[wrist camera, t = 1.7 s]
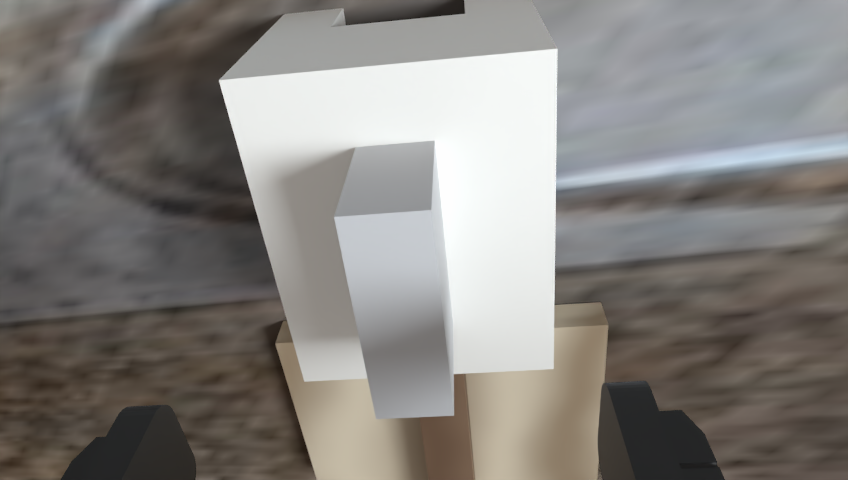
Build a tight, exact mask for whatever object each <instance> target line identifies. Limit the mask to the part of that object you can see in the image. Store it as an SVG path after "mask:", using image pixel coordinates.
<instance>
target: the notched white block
mask: <svg viewBox="0 0 848 480" xmlns="http://www.w3.org/2000/svg"><path fill="white" fill-rule="evenodd" d="M464 8H465V14H457V15H447V16H437V17H427V18H417V19H407V20H396V21H386V22H376V23H366V24H356V25H346V23H345V17H344V11H343V8H339V9H329V10H319V11H309V12H300V13H290V14H284V15H283V16H282V17H281V18H280V19H279V20H278V21H277V22H276V23H275V24H274V25H273V26H272V27H271V28H270V29H269V30H268V31H267V32H266V33H265V34H264V35H263V36H262V37H261V38H260V39H259V40H258V41H257V42H256V43H255V44H254V45H253V46H252V47H251V48H250V49H249V50H248V51H247V52H246V53H245V54H244V55H243V56H242V57H241V58H240V59H239V60H238V61H237V62H236V63H235V64H234V65H233V66H232V67H231V68H230V69H229V70H228V71H227V72H226V73H225V74H224V75H223V76H222V77H221V78H220V79H219V83H220V86H221V90H222V94H223V97H224V101H225V104H226V108H227V111H228V115H229V118H230V122H231V125H232V129H233V132H234V136H235V139H236V143H237V146H238V150H239V153H240V157H241V160H242V164H243V167H244V171H245V174H246V178H247V181H248V185H249V189H250V192H251V196H252V199H253V203H254V206H255V210H256V213H257V217H258V220H259V224H260V227H261V231H262V234H263V238H264V241H265V245H266V248H267V252H268V255H269V259H270V262H271V266H272V269H273V273H274V277H275V280H276V284H277V287H278V291H279V294H280V298H281V301H282V305H283V308H284V312H285V315H286V319H287V322H288V326H289V329H290V333H291V336H292V340H293V343H294V347H295V350H296V354H297V357H298V361H299V364H300V368H301V372H302V375H303V379H304V382H308V381H328V380H347V379H367V378H368V383H369V388H370V392H371V397H372V402H373V407H374V412H375V416H376V419H392V418H414V417H436V416H454V374H467V373H487V372H506V371H526V370H546V369H554V299H555V212H556V125H557V47H556V45H555V43H554V41H553V40H552V38H551V36H550V34H549V32H548V30H547V28H546V27H545V25H544V23H543V21H542V19H541V17H540V15H539V14H538V12H537V10H536V8H535V6H534V4H533V2H532V1H531V0H464Z"/></svg>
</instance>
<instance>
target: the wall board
mask: <svg viewBox="0 0 848 480" xmlns="http://www.w3.org/2000/svg"><path fill="white" fill-rule="evenodd" d="M607 337H608V322H607V319H606V316H605V313H604V310H603V307H602V304H601V302H595V303H578V304H561V305H554V369H546V370H526V371H506V372H487V373H467V374H454V416H436V417H414V418H392V419H376V416H375V412H374V407H373V402H372V397H371V392H370V388H369V383H368V378H367V379H347V380H328V381H308V382H304V379H303V375H302V372H301V368H300V364H299V361H298V357H297V354H296V350H295V347H294V343H293V340H292V336H291V333H290V329H289V326H288V322H287V321H283V323H282V325H281V328H280V331H279V334H278V337H277V340H276V343H275V344H276V348H277V351H278V354H279V358H280V361H281V364H282V367H283V371H284V374H285V377H286V381H287V384H288V387H289V390H290V394H291V397H292V400H293V403H294V407H295V410H296V413H297V417H298V420H299V423H300V426H301V430H302V433H303V436H304V439H305V443H306V446H307V449H308V453H309V456H310V459H311V462H312V466H313V469H314V472H315V476H316V479H317V480H597V476H598V462H599V456H598V426H599V413H600V399H601V388H602V384H603V383H604V378H605V365H606V351H607Z"/></svg>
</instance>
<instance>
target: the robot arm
mask: <svg viewBox="0 0 848 480" xmlns="http://www.w3.org/2000/svg"><path fill="white" fill-rule="evenodd" d="M598 456H599V464H600V469H601V474H602V478H603V480H725V479H724V477H723V475H722V472H721V470H720V468H719V467H717V461H716V459H715V457H714V454H713V452H712V450H711V448H710V445H709V443H708V441H707V439H706V436H705V434H704V433H703V432H702V431H701V430H700V429H699V428H698V427H697V426H696V425H695V424H694V423H693V422H692V421H691V420H690V419H689V418H688V417H687V416H686V415H685V414H684V413H683V411H682V410H674V411H659V410H658V407H657V404H656V402H655V399H654V397H653V394H652V391H651V389H650V387H649V385H648V383H647V382H646V381H635V382H616V383H603V384H602V388H601V399H600V413H599V426H598ZM195 478H196V463H195V458H194V455H193V453H192V450H191V448H190V446H189V444H188V442H187V440H186V437H185V435H184V433H183V431H182V429H181V426H180V424H179V422H178V420H177V418H176V415H175V413H174V411H173V409H172V408H171V407H170V406H168V405H153V406H134V407H126V408H124V409H123V410H122V411H121V412H120V413H119V415H118V416H117V418H116V420H115V422H114V423H113V425H112V427H111V429H110V430H109V432H108V434H107V436H106V437H96V438H95V439H94V440H93V441H92V442H91V443H90V444H89V445H88V446H87V447H86V448H85V449H84V450H83V451H82V452H81V453H80V454H79V455H78V456H77V457H76V458H75V459H74V460H73V461H72V462H71V463H70V465H69V467H68V468H67V470H66V472H65V473H64V475H63V477H62V478H61V480H195Z"/></svg>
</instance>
